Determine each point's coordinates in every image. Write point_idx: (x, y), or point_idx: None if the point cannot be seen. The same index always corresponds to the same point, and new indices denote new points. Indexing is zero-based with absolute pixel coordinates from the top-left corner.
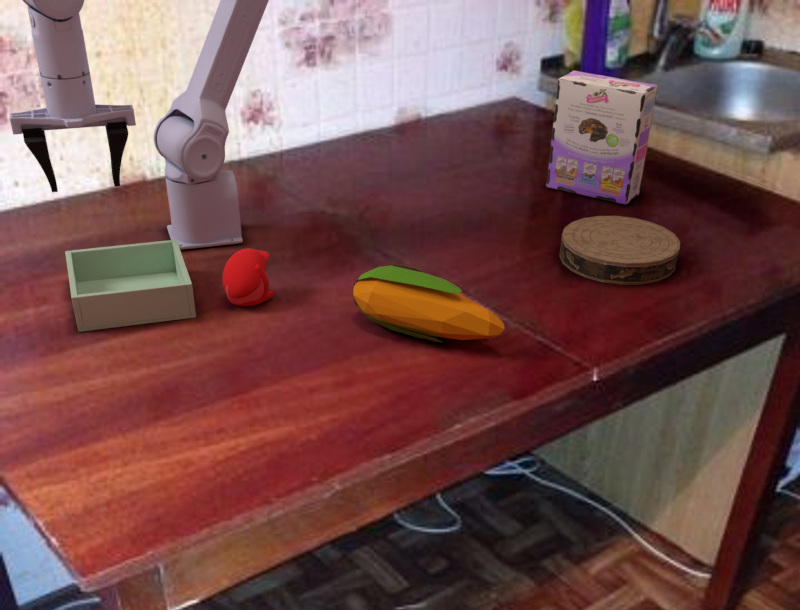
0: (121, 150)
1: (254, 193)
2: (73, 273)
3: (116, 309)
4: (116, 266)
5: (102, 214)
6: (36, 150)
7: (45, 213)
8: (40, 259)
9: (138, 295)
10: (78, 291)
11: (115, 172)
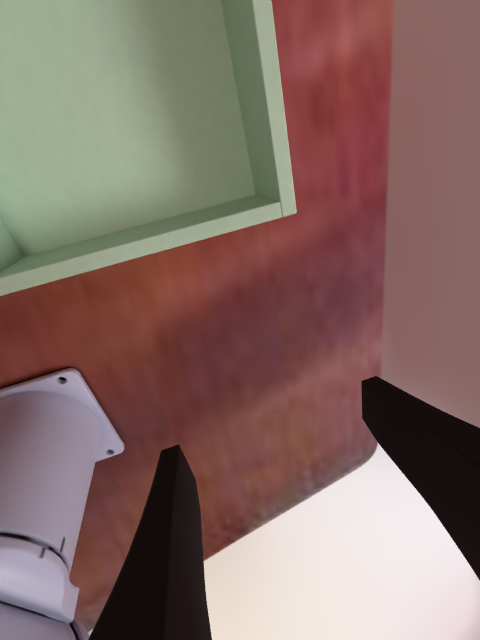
0: (99, 636)
1: None
2: (255, 7)
3: None
4: (164, 223)
5: (250, 469)
6: None
7: (331, 456)
8: (333, 312)
9: None
10: (245, 139)
11: (164, 493)
